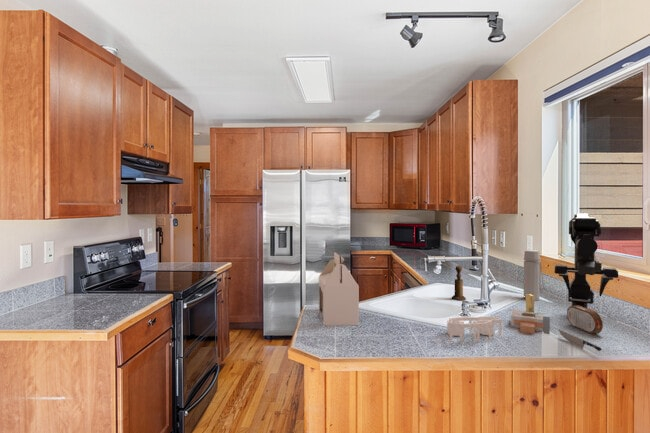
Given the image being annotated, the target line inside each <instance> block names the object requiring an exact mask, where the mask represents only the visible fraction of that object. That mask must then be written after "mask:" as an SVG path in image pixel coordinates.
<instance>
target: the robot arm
mask: <svg viewBox="0 0 650 433" xmlns="http://www.w3.org/2000/svg"><path fill="white" fill-rule="evenodd" d="M601 228H602V227H601V223H600V221H599V220H597V218H596V217H592V216H591V217H590V213H584V212H583V213H582V212H581V213H574V215H573V218H571V219H570V220H569V221H568V235H570V240H571V241H572V242H573V244H574V267H569V266H568V265H567V264H556V265H554V274H558V277H562V279H563V281H564V283H565V285H566V289H567V302H568V303H569V302H571V306H576V305H579V306H582V307H585V308H588V309H589V304H590V305H592V304H594V299H595V298H594V296H595V293H594V291H593V289H592V288H591V285H590V283H589V281H588V280H587V275H589V276H594V275H601V276H600V283H599V294H598V295H599V297H602V295H603V293H604V290H605V288H606V286H607V284H608V283H609V282H610V281H614V279H615V278H616V279H619V271H618V270H617V269H616V268H615V267H603V266H602V265H603V264H602V261H601V260H595V259H596V258H595V257H596V256H595V252H596V251H597V250H598V247H599V245H598V243H597V241H596V240H595V237H598V238H599V237H600V235H602V231H601ZM569 273H573V276H574V278H573V279H572V280H571V281H570V278H569Z"/></svg>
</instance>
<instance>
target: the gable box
mask: <svg viewBox="0 0 650 433" xmlns="http://www.w3.org/2000/svg"><path fill="white" fill-rule="evenodd" d="M333 255H334V256H333V257H332V258H331V259H330V260H329V261H328V263H326V265H325V267H324V268H323V270H322V272H321V273H320V275H319V276H318V311H319V314H320V317H321V321H322V323H323V326H359V325H360V324H359V322H360V321H359V320H360V312H359V311H360V306H359V305H360V302H359V301H360V298H359V297H360V296H359V295H360V294H359V293H360V292H359V291H360V289H359V288H360V286H359V284H358V283H357V281H356V279H355V278H354V277H353V275H352V274H351V272H350V270H349V269H348V267H347V266H346V265H345V264H344V263H345V260H346V259H345V258H344V257H343V256H342V255H340V254H339V253H338V252H336V251H335V252H334V253H333ZM321 310H322V312H321Z"/></svg>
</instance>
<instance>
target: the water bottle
mask: <svg viewBox="0 0 650 433" xmlns="http://www.w3.org/2000/svg"><path fill="white" fill-rule="evenodd" d="M540 254H541V253H540V250H534V249H533V250H532V249H525V250H524V254H523V256H524V257H523V297H524V296H525V298H526V294H533V295H534V302H536V301H537V300H538V301H539V300H540V291H544V279H543V278H544V276H543V269H542V263H543V262H542V260H541V257H540V256H541V255H540ZM541 282H542V288H541Z"/></svg>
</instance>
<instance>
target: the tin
mask: <svg viewBox="0 0 650 433" xmlns="http://www.w3.org/2000/svg"><path fill="white" fill-rule="evenodd" d="M566 312H567V314H566V316H567V320H568V322H569V323H570V325H571V326H573V327H574V328H577V329H579V330H581V331H582V332H583V331H584V332H586V333H589V334H600V333H601V332H602V330H603V326H604V323H603V319H602V318H601V315H600V314H599V313H598V312H597V311H595V310H593V309H590V308H589V307H588V308H585V307H582V306H579V305H576V306H572V305H570V306H569V307H568V308H567V310H566Z"/></svg>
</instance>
